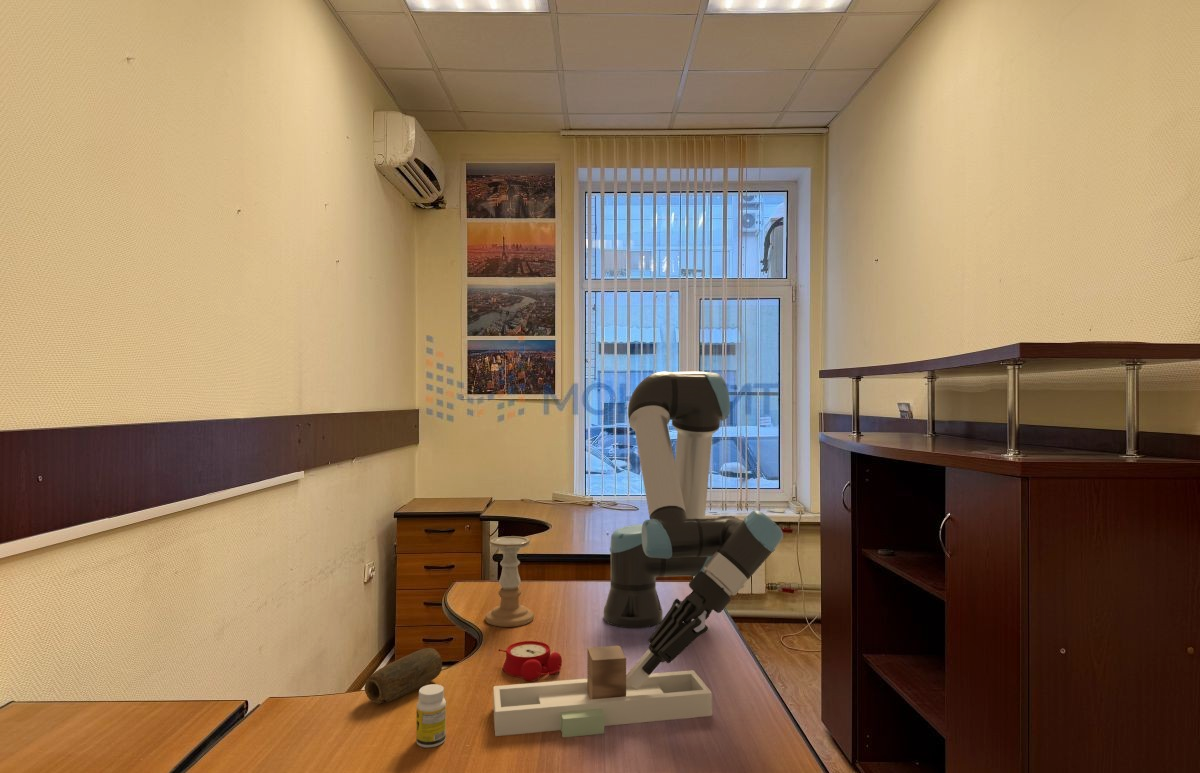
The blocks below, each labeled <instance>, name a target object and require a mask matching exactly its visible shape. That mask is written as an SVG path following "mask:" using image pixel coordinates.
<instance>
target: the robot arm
mask: <svg viewBox="0 0 1200 773" xmlns="http://www.w3.org/2000/svg"><path fill="white" fill-rule="evenodd" d="M727 386H728V385H727V383H726V381H725V379H724V377H723V376H722V375H721V374H720V373H716V372H708V371H658V372H655V373H651V374H650V375H648V376H646V377H645V378H644V379H642V381H640V382H639V383H638V384H637V385H636V388H634V390H633V392H632V394H631V397H630V398H629V402H628V406H627V416H628V417H627V418H628V423H629V427H630V428H631V430H632V431H634V432H635V434H634V435H635V438H636V445H637V451H638V455H639V456H638V458H639V463H640V468H641V474H642V475H641V476H642V480H643V486H644V492H645V498H646V505H647V511H648V516H649V519H646V520H644V521H643V522H642V524H634V525H633V524H632V525H628V526H623V527H620V528H617V529H616V530H615V531H613V532H612V534H611V537H610V547H609V553H610V587H609V588H610V589H609V593H608V595H607V599H606V603H605V605H604V607H603V620H604V621H605V622H606V623H608V624H610V625H612V626H615V627H620V628H629V629H637V628H638V629H639V628H649V627H653V626H656V625H657V627H656V629H655V630H654V631H653V632H652V634H651V635H650V637H649V638H648V643H649V645H648V649H647V650H646V652H644V654H643V655H642V656H641V657H640V658H639V659H638V661H637V662H636V663H635V664H634V665H633V666H632V668H631V669H630V670H629V671H628V672H626V680H627V681H628V682H629V683H630V684H631V685H632V686H633V687H634V688H635V689H636V690H638V688H639V687H640V686H641V685H642V684H643V683H644V681H645V680H646V679H647V678H648V677H649V676H650V674H653V673H654V671H655V670H656V669H657V667H658V666H659V665H660V664H661V663H666V664H670V663H672V661H673V660H675V659H677V657H678V656H679V655H681V653H682V652H683V651H685V649H686V648H687V647H688V646H690V645H691V644H692V643H693V642H694V641H695V640H696V639H697V638H698V637H700V636H701V635H703V634H705V633H706V632H707V631H708V630H709V626H708V625H707V624H706V620H707V619H709V617H710V615H711V613H712V612H713V611H714V612H716V613H717V614H720V613H721V612H722V611H723V610H724V609H725V608H726V607H727V606H728V605H729V603H730V602H731V595H732V596H736V595H737V593H738V592H740V590H742V589H744V587H745V584H746V583H747V581H749V580H750V578H751V577H752V576H753V575H754V573H756V571H758V569H760V566H762V564H763V563H764V562H766V560H767V559H768V558H769V557H770V555H771V554H772V553H774V551H776V548H777V547H778V546H779V544H780V543H781V541H783V538H784V531H783V530H782V528H781V527H780V526H779V525H778V524H777V523H776V522H775V521H774V520H772V519H771V517H769V516H767V515H766V514H765V513H764V512H762V511H760V510H756V509H755V510H753V511H751V512H750V513H749V514H748V515H747V516H745V517H744V518H743V520H742V519H739V517H736V516H732V515H729V516H728V515H723V516H722V515H721V516H718V517H712V518H708V517H707V518H706V510H707V509H706V508H707V496H708V487H709V486H708V484H709V476H710V475H709V474H710V465H711V464H710V463H711V453H712V451H711V450H712V441H713V435H714V433H716V432H717V431H719V430H720V421H724V420H727V419H728V418H729V414H730V412H731V410H730V409H731V404H730V403H731V402H730V393H729V390H728V387H727ZM670 421H671V426H672V427H673V428H674V429H675V430H676V433H677V434H676V448H675V456H674V451H673V446H672V441H671V440H672V439H671V437H670V432H669V427H668V425H669V423H670ZM667 577H690V578H691V577H693V578H692V579H691V581H690V582H689V583H688V587H689V588H690V589H691V590H692V592H691V593H689V594H688V595H687V596H685V598H683V600H680V599H679V598H675V599H674V601H673V603H672V604H671V607H670V608H669V610H668V612H667V613H666V614H665V616H664V617H663V607H662V606H661V602H660V601H661V600H660V598H659V595H658V592H657V588H656V586H657V584H656V581H657V580H656V579H657V578H667Z"/></svg>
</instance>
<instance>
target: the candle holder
mask: <svg viewBox="0 0 1200 773" xmlns="http://www.w3.org/2000/svg"><path fill="white" fill-rule="evenodd" d="M530 544H531V539H530V538H528V537H524V536H517V535H516V536H515V535H511V536H509V535H508V536H500V537H498V536H497V537H494V538H492V539H490V540H489V546H490V547H493V548H494V549H495V548H496V549H499V551H500V552H501V553H502V555H503V556H502V557H503V558H502V560H501V561H500V563H499V565H500V566H501V568H502V569H501V575H500V578H499V580H498V584H499V586H500V587H501V588H500V589H499V590H498V592H497V593H498V596H499V597H500V598H501V599H500V605H497V606H495V607H493V608H492V609H491V610H489V611H488V612H486V614H485V616H484V617H485V619H484V620H485V622H486V623H487V624H489V625H492V626H494V627H499V628H501V627H502V628H508V627H509V628H511V627H512V628H513V627H521V626H525V625H526V624H530V623H531V622H532V621H533V620H534V617H535V615H534V612H533V610H531V609H530V608H528V607H527V606H525V605H522V604H520V600H519V597H520V596H521V594H522V590H521V589H520V588H519V586H520V585H521V577H520V574H519V568H518V566H519V565H520V564H521V561H520V560H519V559H518V558H517V556H518V553H519V552H520V551H521V549H522V548H525V547H527V546H530Z"/></svg>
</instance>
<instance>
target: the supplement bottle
mask: <svg viewBox="0 0 1200 773" xmlns="http://www.w3.org/2000/svg"><path fill="white" fill-rule="evenodd" d="M444 696H445V688H444V686H443V685H441V684H437V683H436V684H434V683H433V684H425V685H424V686H422V687H420V688H419V689H418V702H417V703H416V716H415V717H416V721H415V722H416V725H415V726H416V732H415V734H416V735H415V736H416V737H415V738H416V744H417V745H418V747H422V748H434V747H435V748H436V747H438V746H441V745H442V744H443V743H445V741H446V738H447V701H446V699H445V697H444Z"/></svg>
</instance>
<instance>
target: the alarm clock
mask: <svg viewBox="0 0 1200 773" xmlns="http://www.w3.org/2000/svg"><path fill="white" fill-rule="evenodd" d="M498 652H504V653H506V654H505V660H504V662H503V665H502V666H503V667H502V670H503V672H505V673H506V674H507V675H508V676H513V677H518V678H523V680H525V681H527V682H534V681H537V680H538V679H539V678H540V677H541V676H545V675H547V676H548V675H556V674H557V673H559V672H560V671H561V670H562V662H563V658H562V656H561V654H560V653H559V652H552V653H551V648H550V646H549V644H547V643H544V642H542V641H537V640H536V641H535V640H524V641H519V642H515V643H513V644H510V645H509V646H508V647H507V648H506V650H505V649H504V650H503V649H499V648H498Z"/></svg>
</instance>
